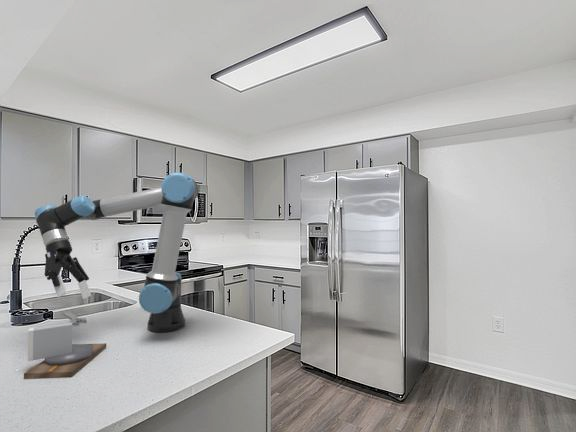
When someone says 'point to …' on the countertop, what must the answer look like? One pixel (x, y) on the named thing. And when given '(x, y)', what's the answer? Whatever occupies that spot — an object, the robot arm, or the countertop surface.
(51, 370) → the dial board
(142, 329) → the countertop surface
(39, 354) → the grey panel and disc
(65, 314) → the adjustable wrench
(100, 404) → the countertop surface
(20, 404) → the countertop surface
